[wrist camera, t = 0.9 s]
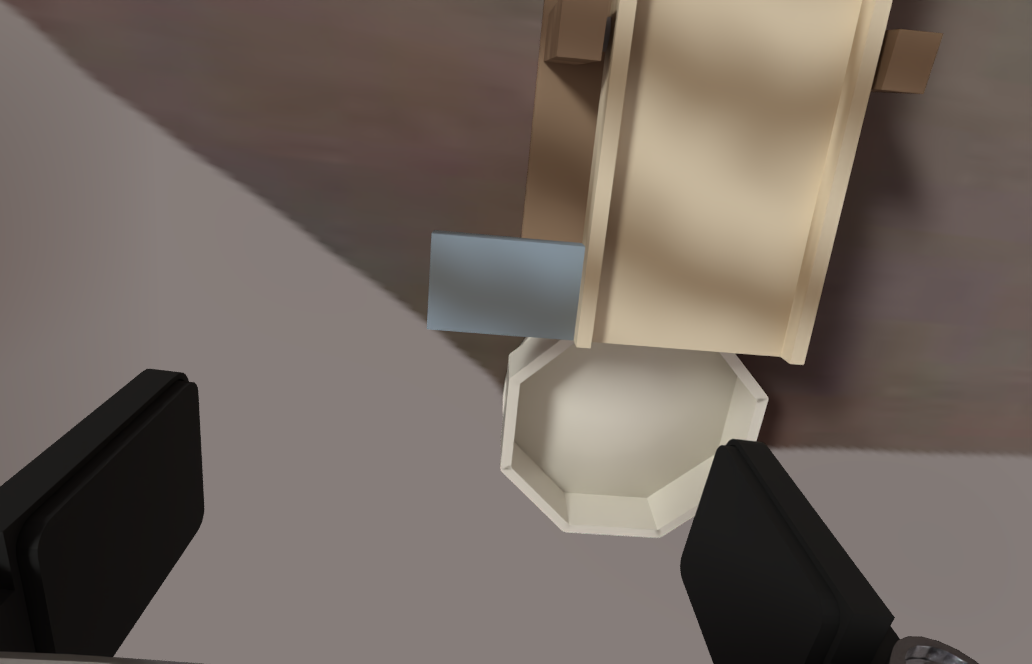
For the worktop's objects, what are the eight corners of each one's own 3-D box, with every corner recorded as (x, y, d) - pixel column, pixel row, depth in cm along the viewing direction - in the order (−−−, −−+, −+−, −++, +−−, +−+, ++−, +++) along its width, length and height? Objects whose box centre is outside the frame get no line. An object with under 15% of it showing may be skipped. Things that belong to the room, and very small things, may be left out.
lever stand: (569, -253, 25) (600, -416, 17) (892, -211, 26) (1076, -347, 18) (517, 274, 34) (521, 337, 26) (759, 294, 35) (839, 362, 26)
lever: (466, -259, 23) (456, -386, 17) (876, -206, 24) (987, -311, 18) (436, 305, 29) (422, 340, 24) (760, 331, 30) (816, 371, 24)
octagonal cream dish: (513, 279, 34) (514, 303, 30) (761, 299, 35) (791, 326, 31) (493, 487, 40) (492, 529, 36) (707, 501, 40) (728, 543, 37)
